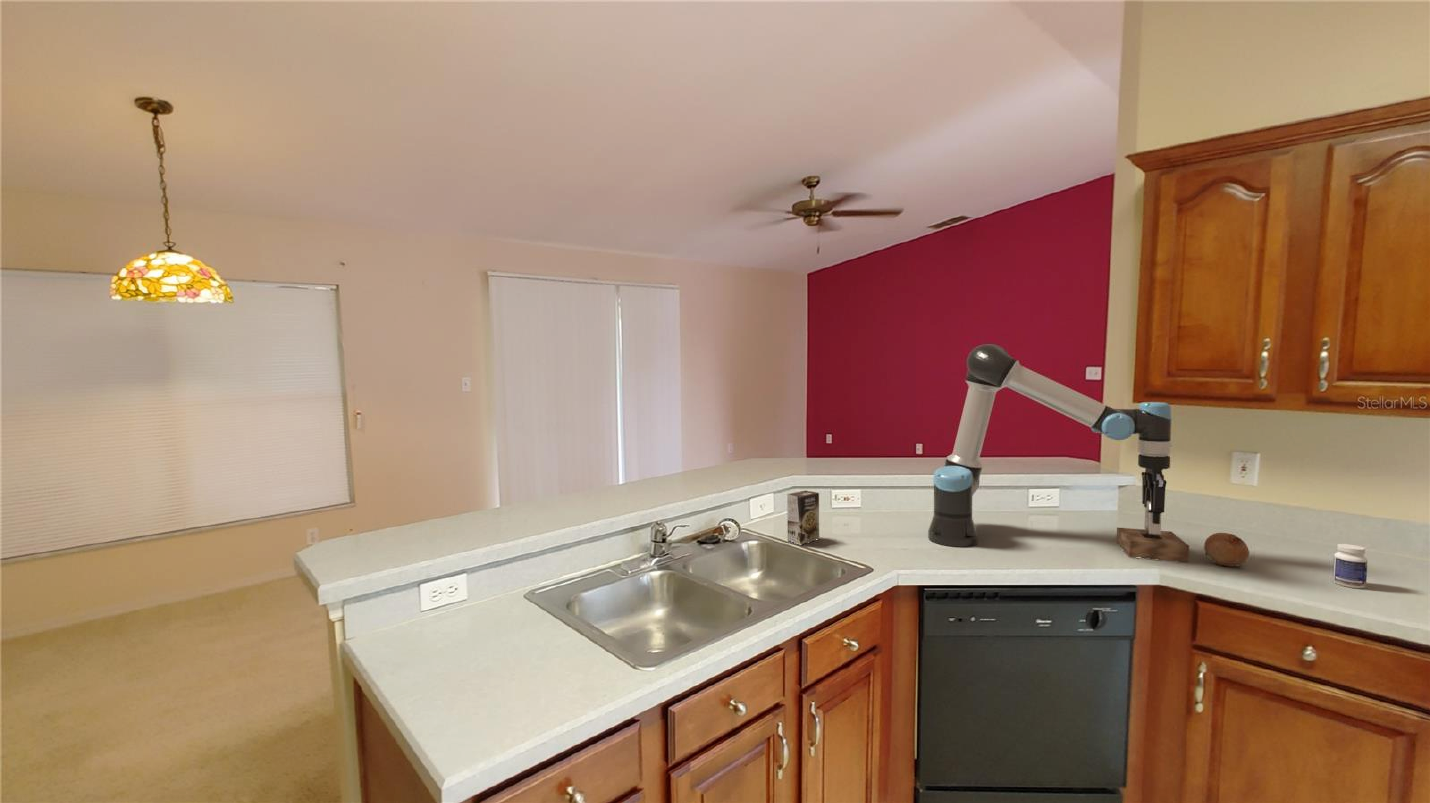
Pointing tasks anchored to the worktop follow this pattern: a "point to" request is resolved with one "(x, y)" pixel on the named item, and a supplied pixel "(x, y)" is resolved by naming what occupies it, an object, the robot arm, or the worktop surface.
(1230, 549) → the kiwi fruit
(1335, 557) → the pill bottle
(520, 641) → the worktop surface
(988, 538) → the worktop surface
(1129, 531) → the wooden block with hole
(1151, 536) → the steel pin
